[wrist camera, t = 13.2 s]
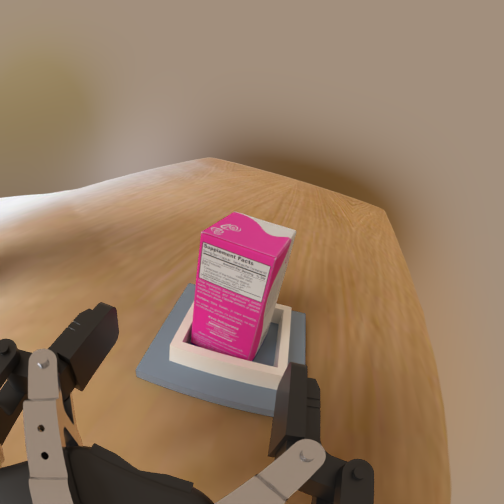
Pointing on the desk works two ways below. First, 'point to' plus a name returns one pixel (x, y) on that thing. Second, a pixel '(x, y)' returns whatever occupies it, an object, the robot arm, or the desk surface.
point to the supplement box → (238, 283)
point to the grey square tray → (223, 360)
